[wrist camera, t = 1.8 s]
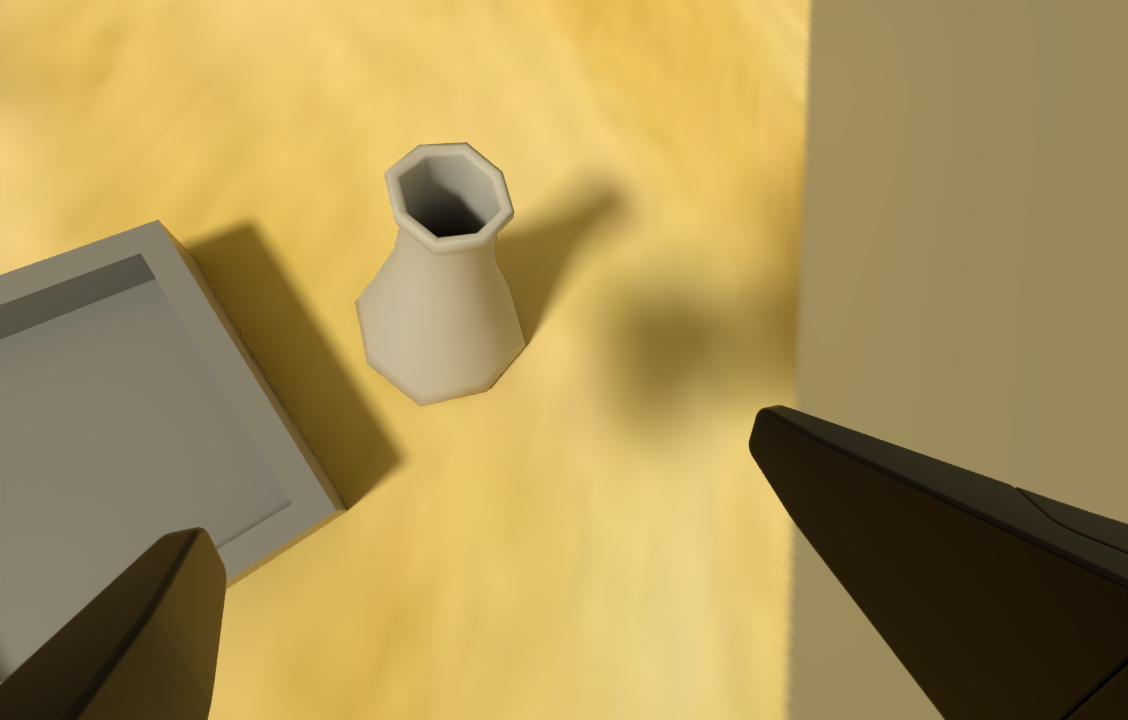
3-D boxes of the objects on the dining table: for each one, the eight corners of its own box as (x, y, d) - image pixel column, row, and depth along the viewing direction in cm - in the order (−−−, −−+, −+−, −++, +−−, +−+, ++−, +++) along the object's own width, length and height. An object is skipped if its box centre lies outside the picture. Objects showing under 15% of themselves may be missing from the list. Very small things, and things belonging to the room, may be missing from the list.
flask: (469, 232, 23) (494, 51, 14) (550, 354, 22) (633, 248, 13) (325, 297, 20) (237, 125, 11) (412, 436, 20) (394, 377, 11)
